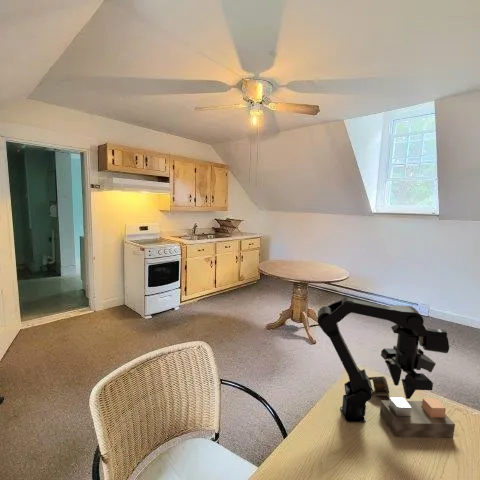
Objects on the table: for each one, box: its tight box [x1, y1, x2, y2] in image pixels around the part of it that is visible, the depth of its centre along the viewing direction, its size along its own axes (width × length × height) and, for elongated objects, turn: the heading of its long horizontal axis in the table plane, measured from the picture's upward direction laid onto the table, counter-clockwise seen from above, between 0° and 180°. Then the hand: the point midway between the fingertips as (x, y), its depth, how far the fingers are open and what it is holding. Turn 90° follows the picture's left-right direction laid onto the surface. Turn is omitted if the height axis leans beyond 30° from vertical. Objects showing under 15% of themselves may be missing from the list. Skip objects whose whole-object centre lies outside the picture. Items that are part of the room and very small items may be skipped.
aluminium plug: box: [389, 397, 411, 417], centre depth 92 cm, size 4×4×5 cm
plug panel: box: [379, 399, 456, 439], centre depth 92 cm, size 18×10×5 cm, turn 90°
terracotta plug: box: [422, 397, 447, 418], centre depth 92 cm, size 4×4×5 cm
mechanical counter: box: [368, 375, 391, 400], centre depth 108 cm, size 7×13×10 cm
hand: (401, 391), depth 91 cm, fingers open, 6 cm apart
